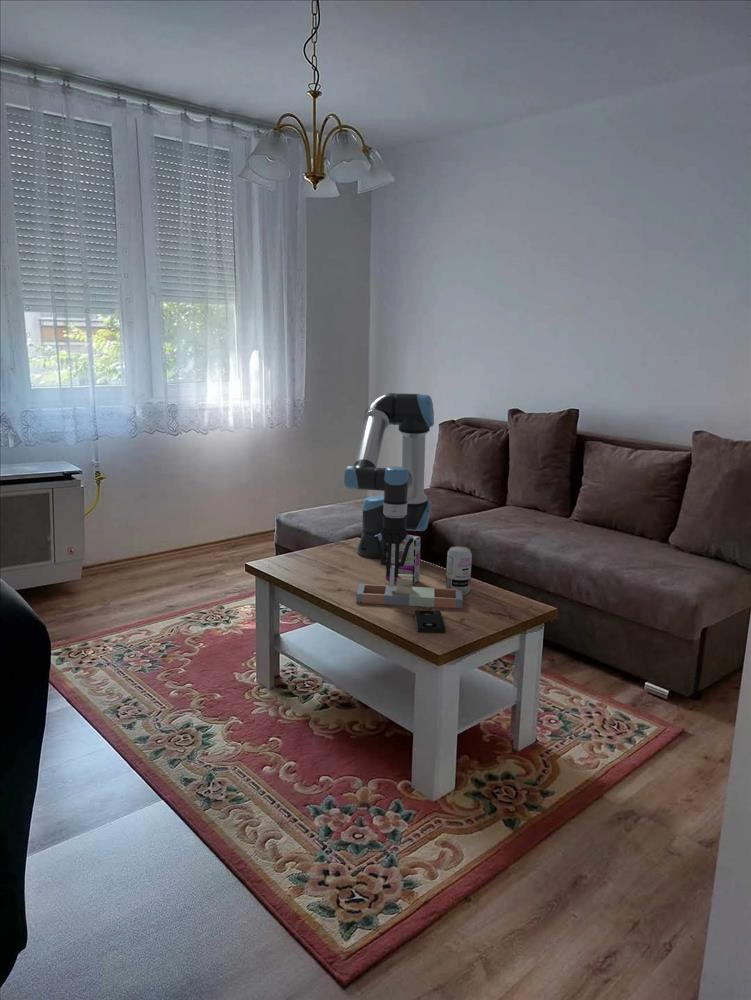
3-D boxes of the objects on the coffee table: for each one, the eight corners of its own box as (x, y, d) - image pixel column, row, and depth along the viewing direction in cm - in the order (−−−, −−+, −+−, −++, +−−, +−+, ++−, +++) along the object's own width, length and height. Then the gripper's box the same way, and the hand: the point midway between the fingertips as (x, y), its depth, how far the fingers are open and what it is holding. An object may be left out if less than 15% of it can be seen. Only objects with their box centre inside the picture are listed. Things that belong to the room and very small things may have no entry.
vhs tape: (414, 616, 223) (414, 609, 222) (439, 616, 223) (440, 610, 222) (417, 634, 209) (418, 627, 208) (444, 634, 209) (445, 628, 208)
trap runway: (359, 592, 241) (359, 583, 240) (461, 597, 239) (461, 589, 238) (356, 602, 231) (356, 593, 231) (462, 608, 229) (462, 599, 228)
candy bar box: (419, 581, 254) (421, 536, 251) (413, 585, 250) (415, 539, 247) (391, 575, 259) (393, 531, 256) (385, 579, 255) (386, 534, 252)
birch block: (397, 588, 237) (397, 573, 236) (412, 589, 236) (412, 574, 235) (396, 593, 232) (396, 578, 231) (411, 594, 232) (412, 579, 230)
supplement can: (452, 586, 250) (455, 544, 247) (473, 591, 245) (476, 549, 242) (441, 592, 244) (443, 549, 240) (462, 597, 239) (464, 554, 236)
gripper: (373, 517, 226) (370, 588, 231) (414, 519, 225) (411, 591, 230) (375, 511, 233) (373, 581, 238) (415, 514, 232) (412, 583, 237)
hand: (391, 585), depth 234 cm, fingers closed
